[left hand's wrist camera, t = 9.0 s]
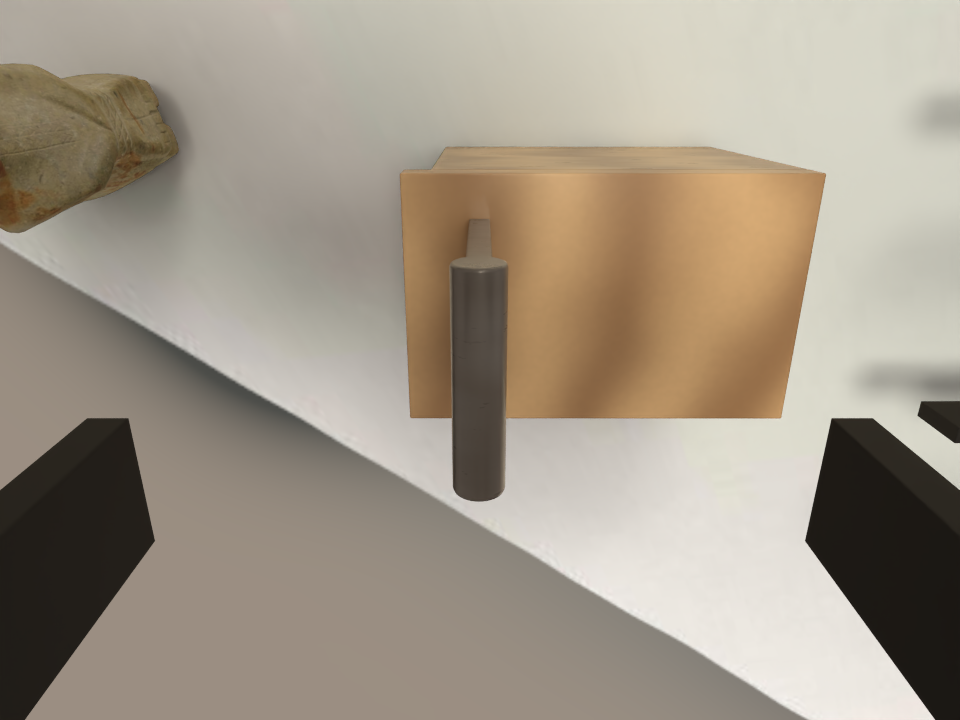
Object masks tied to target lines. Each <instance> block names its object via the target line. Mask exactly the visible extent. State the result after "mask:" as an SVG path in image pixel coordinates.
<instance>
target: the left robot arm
mask: <svg viewBox="0 0 960 720" xmlns="http://www.w3.org/2000/svg"><path fill="white" fill-rule="evenodd" d="M154 541H155V539H154V535H153V530H152V526H151V521H150V516H149V512H148V507H147V503H146V498H145V493H144V489H143V484H142V479H141V475H140V470H139V466H138V461H137V457H136V452H135V447H134V442H133V438H132V433H131V429H130V424H129V419H128V418H87V419H86V420H85V421H84V422H82V423H81V424H80V425H79V426H78V427H76V428H75V429H74V430H73V431H71V432H70V433H69V434H68V435H67V436H65V437H64V438H63V439H62V440H61V441H59V442H58V443H57V444H56V445H55V446H53V447H52V448H51V449H50V450H49V451H47V452H46V453H45V454H44V455H42V456H41V457H40V458H39V459H38V460H36V461H35V462H34V463H33V464H31V465H30V466H29V467H28V468H27V469H25V470H24V471H23V472H22V473H21V474H19V475H18V476H17V477H16V478H15V479H13V480H12V481H11V482H10V483H9V484H7V485H6V486H5V487H4V488H2V489H1V490H0V720H25V719H26V717H27V716H28V715H29V713H30V712H31V711H32V709H33V708H34V706H35V705H36V704H37V702H38V701H39V699H40V698H41V697H42V695H43V694H44V693H45V691H46V690H47V688H48V687H49V686H50V684H51V683H52V682H53V680H54V679H55V678H56V676H57V675H58V673H59V672H60V671H61V669H62V668H63V667H64V665H65V664H66V662H67V661H68V660H69V658H70V657H71V655H72V654H73V653H74V651H75V650H76V649H77V647H78V646H79V645H80V643H81V642H82V640H83V639H84V638H85V636H86V635H87V633H88V632H89V631H90V629H91V628H92V627H93V625H94V624H95V623H96V621H97V620H98V618H99V617H100V616H101V614H102V613H103V611H104V610H105V609H106V607H107V606H108V605H109V603H110V602H111V600H112V599H113V598H114V596H115V595H116V594H117V592H118V591H119V590H120V588H121V587H122V585H123V584H124V583H125V581H126V580H127V579H128V577H129V576H130V574H131V573H132V572H133V570H134V569H135V568H136V566H137V565H138V563H139V562H140V561H141V559H142V558H143V557H144V555H145V554H146V552H147V551H148V550H149V548H150V547H151V545H152V544H153V543H154ZM805 541H806V543H807V544H808V546H809V547H810V548H811V550H812V551H813V552H814V554H815V555H816V557H817V558H818V559H819V561H820V562H821V563H822V565H823V566H824V568H825V569H826V570H827V572H828V573H829V574H830V576H831V577H832V579H833V580H834V581H835V583H836V584H837V585H838V587H839V588H840V590H841V591H842V592H843V594H844V595H845V596H846V598H847V599H848V601H849V602H850V603H851V605H852V606H853V607H854V609H855V610H856V612H857V613H858V614H859V616H860V617H861V618H862V620H863V621H864V623H865V624H866V625H867V627H868V628H869V629H870V631H871V632H872V634H873V635H874V636H875V638H876V639H877V640H878V642H879V643H880V645H881V646H882V647H883V649H884V650H885V651H886V653H887V654H888V656H889V657H890V658H891V660H892V661H893V662H894V664H895V665H896V667H897V668H898V669H899V671H900V672H901V673H902V675H903V676H904V678H905V679H906V680H907V682H908V683H909V684H910V686H911V687H912V689H913V690H914V691H915V693H916V694H917V695H918V697H919V698H920V700H921V701H922V702H923V704H924V705H925V706H926V708H927V709H928V711H929V712H930V713H931V715H932V716H933V717H934V719H935V720H960V490H959V489H958V488H956V487H955V486H954V485H953V484H952V483H950V482H949V481H948V480H947V479H945V478H944V477H943V476H942V475H941V474H939V473H938V472H937V471H936V470H935V469H933V468H932V467H931V466H930V465H929V464H927V463H926V462H925V461H924V460H922V459H921V458H920V457H919V456H918V455H916V454H915V453H914V452H913V451H912V450H910V449H909V448H908V447H907V446H906V445H904V444H903V443H902V442H901V441H899V440H898V439H897V438H896V437H895V436H893V435H892V434H891V433H890V432H889V431H887V430H886V429H885V428H884V427H883V426H881V425H880V424H879V423H878V422H876V421H875V420H874V419H873V418H832V419H831V424H830V429H829V433H828V438H827V442H826V447H825V452H824V456H823V461H822V466H821V470H820V475H819V479H818V484H817V489H816V493H815V498H814V503H813V507H812V512H811V516H810V521H809V526H808V530H807V535H806V539H805Z"/></svg>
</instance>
